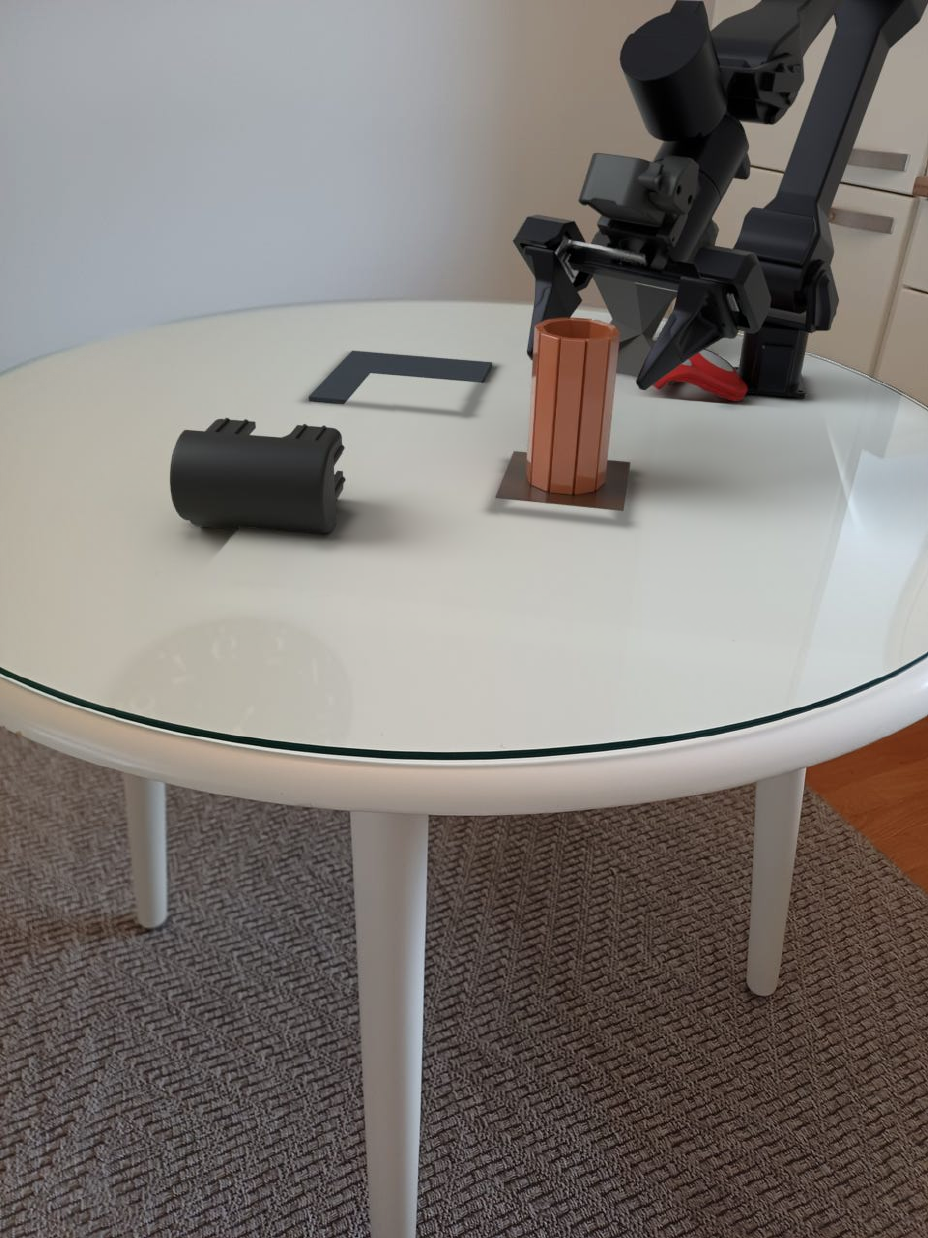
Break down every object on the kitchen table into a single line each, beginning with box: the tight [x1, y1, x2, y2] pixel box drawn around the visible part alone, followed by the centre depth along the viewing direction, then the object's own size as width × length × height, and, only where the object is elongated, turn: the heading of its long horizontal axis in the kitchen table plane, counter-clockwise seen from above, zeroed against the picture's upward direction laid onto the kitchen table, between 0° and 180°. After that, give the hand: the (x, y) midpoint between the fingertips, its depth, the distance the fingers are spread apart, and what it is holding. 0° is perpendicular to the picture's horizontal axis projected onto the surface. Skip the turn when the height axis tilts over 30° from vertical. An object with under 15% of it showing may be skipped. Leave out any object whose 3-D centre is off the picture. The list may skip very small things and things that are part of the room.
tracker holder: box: [652, 348, 748, 402], centre depth 100 cm, size 12×4×10 cm
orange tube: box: [526, 316, 620, 495], centre depth 76 cm, size 6×6×11 cm
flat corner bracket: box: [308, 350, 493, 405], centre depth 100 cm, size 14×14×1 cm
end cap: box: [169, 417, 347, 535], centre depth 71 cm, size 10×7×7 cm
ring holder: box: [494, 450, 631, 512], centre depth 78 cm, size 9×9×6 cm
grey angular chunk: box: [590, 220, 720, 385], centre depth 106 cm, size 14×15×18 cm
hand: (583, 371), depth 76 cm, fingers open, 9 cm apart
